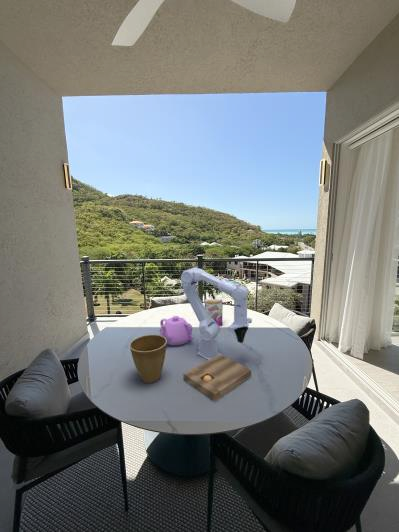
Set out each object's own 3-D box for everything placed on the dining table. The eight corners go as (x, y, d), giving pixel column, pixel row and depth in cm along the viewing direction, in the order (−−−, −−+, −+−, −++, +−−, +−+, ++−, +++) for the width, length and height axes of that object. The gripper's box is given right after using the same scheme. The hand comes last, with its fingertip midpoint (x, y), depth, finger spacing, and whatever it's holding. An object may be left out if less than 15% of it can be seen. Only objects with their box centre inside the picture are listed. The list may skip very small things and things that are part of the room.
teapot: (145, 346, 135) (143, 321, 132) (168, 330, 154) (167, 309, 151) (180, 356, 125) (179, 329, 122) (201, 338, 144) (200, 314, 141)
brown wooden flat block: (183, 380, 105) (183, 373, 105) (219, 360, 120) (219, 354, 120) (214, 401, 92) (214, 394, 92) (251, 376, 107) (251, 370, 107)
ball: (205, 383, 104) (200, 382, 102) (207, 374, 105) (202, 373, 103) (212, 386, 102) (207, 385, 99) (214, 377, 103) (209, 376, 100)
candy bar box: (204, 327, 159) (204, 301, 156) (204, 323, 164) (204, 299, 161) (222, 326, 159) (222, 301, 156) (221, 323, 164) (221, 298, 161)
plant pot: (152, 364, 118) (150, 331, 115) (175, 375, 108) (174, 340, 106) (124, 379, 106) (122, 343, 104) (147, 394, 97) (145, 355, 94)
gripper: (237, 319, 106) (237, 350, 108) (257, 311, 115) (257, 339, 118) (224, 315, 111) (224, 345, 113) (244, 307, 121) (244, 334, 123)
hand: (240, 341), depth 116 cm, fingers closed
